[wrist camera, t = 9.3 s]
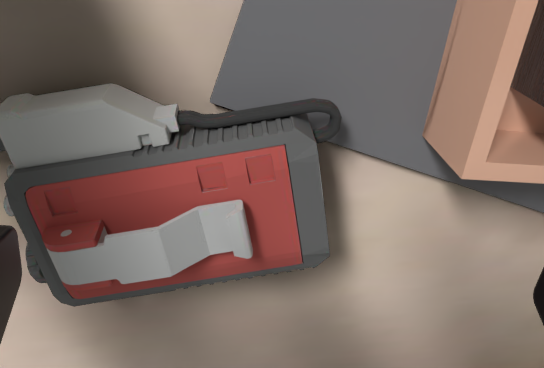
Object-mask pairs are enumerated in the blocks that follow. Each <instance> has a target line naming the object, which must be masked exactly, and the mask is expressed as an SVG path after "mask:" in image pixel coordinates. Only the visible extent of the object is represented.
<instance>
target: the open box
mask: <svg viewBox="0 0 544 368" xmlns="http://www.w3.org/2000/svg"><path fill="white" fill-rule="evenodd" d="M537 3H538V0H457V2H456V6H455V10H454V14H453V18H452V22H451V26H450V30H449V34H448V37H447V41H446V45H445V49H444V53H443V57H442V61H441V65H440V68H439V72H438V76H437V80H436V84H435V88H434V92H433V96H432V100H431V103H430V107H429V111H428V115H427V119H426V123H425V127H424V131H423V134H422V136H423V137H424V138H425V139H426V140H427V141H428V143H429V144H430V145H431V146H432V147H433V148H434V149H435V150H436V151H437V153H438V154H439V155H440V156H441V157H442V158H443V159H444V160H445V161H446V163H447V164H448V165H449V166H450V167H451V168H452V169H453V170H454V171H455V173H456V174H457V175H458V176H459V177H460V178H461V179H470V180H488V181H506V182H524V183H542V184H544V107H543V106H541V105H540V104H538V103H536V102H535V101H533V100H531V99H530V98H528V97H527V96H525V95H523V94H522V93H520V92H518V91H517V90H515V89H513V88H512V87H510V86H511V83H512V80H513V77H514V74H515V71H516V67H517V64H518V61H519V58H520V55H521V52H522V49H523V46H524V43H525V40H526V37H527V34H528V31H529V28H530V24H531V21H532V18H533V15H534V12H535V9H536V6H537Z"/></svg>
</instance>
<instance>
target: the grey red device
mask: <svg viewBox="0 0 544 368" xmlns="http://www.w3.org/2000/svg"><path fill="white" fill-rule="evenodd" d="M312 112H322V113H326V114H329V115H330V119H329V123H328V124H327V125H326V126H324V127H322V128H319V129H315V130H312V128H311V125H310V122H309V119H308V115H307V114H306V113H312ZM341 119H342V116H341V114H340V111H339V109H338V107H337V106H336V105H335V104H334V103H333V102H331V101H330V100H326V99H317V98H311V99H305V100H299V101H293V102H286V103H280V104H274V105H268V106H262V107H256V108H250V109H244V110H238V111H232V112H226V113H220V114H200V113H197V112H194V111H179V108H178V104H172V105H166V106H164V105H161V104H159V103H157V102H155V101H153V100H150V99H148V98H146V97H144V96H142V95H139V94H137V93H135V92H133V91H130V90H128V89H126V88H124V87H122V86H119V85H117V84H112V83H110V84H104V85H98V86H91V87H85V88H79V89H73V90H67V91H61V92H55V93H49V94H43V95H37V96H34V95H32V94H29V93H25V94H20V95H14V96H9V97H7V98H6V99H5V100H4V101H3V102H2V103H1V104H0V151H7V153H8V155H9V158H10V160H11V162H12V164H10V165H9V166H8V168H7V176H8V179H7V181H6V182H5V183H4V184H5V189H6V193H7V196H6V197H5V199H4V208H5V211H6V213H7V214H8V215H9V216H15V218H16V220H17V222H18V224H19V226H20V228H21V230H22V232H23V234H24V236H25V238H26V240H27V242H28V243H27V247H26V261H27V267H28V270H29V272H30V275H31V276H32V277H33V278H34V279H35V280H36V281H37V282H39V283H48V286H49V288H50V290H51V292H52V294H53V296H54V297H55V298H57V299H58V300H59V301H60V302H61V303H64V304H67V305H71V306H80V305H86V304H92V303H98V302H104V301H111V300H117V299H123V298H129V297H136V296H142V295H148V294H154V293H161V292H167V291H173V290H176V289H178V288H184V289H185V288H188V287H191V286H197V287H198V286H201V285H203V284H214V283H216V282H221V281H222V282H227V281H228V280H234V279H235V280H240V279H241V278H247V277H248V278H252V277H253V276H259V275H261V276H265V275H266V274H272V273H274V274H278V273H279V272H284V271H287V272H291V271H292V270H297V269H300V270H304V268H309V267H312V268H315V267H316V266H317V265H319V264H320V263H321V262H323V261H324V260H325V259H327V258H328V257H329V256H330V251H329V243H328V234H327V226H326V217H325V208H324V200H323V191H322V183H321V174H320V166H319V157H318V150H317V144H316V143H321V142H325V141H327V140H329V139H331V138H333V137H334V136H335V135H336V134H337V133H338V132H339V130H340V124H341Z"/></svg>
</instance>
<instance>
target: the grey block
mask: <svg viewBox="0 0 544 368" xmlns="http://www.w3.org/2000/svg"><path fill="white" fill-rule="evenodd" d="M510 87H512V88H513V89H515V90H517V91H518V92H520V93H522V94H523V95H525V96H527V97H528V98H530V99H531V100H533V101H535V102H536V103H538V104H540V105H541V106H543V107H544V0H538V3H537V6H536V9H535V12H534V15H533V18H532V21H531V24H530V28H529V31H528V34H527V37H526V40H525V43H524V46H523V49H522V52H521V55H520V58H519V61H518V64H517V67H516V71H515V74H514V77H513V80H512V83H511V86H510Z"/></svg>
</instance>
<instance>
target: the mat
mask: <svg viewBox="0 0 544 368" xmlns="http://www.w3.org/2000/svg"><path fill="white" fill-rule="evenodd" d="M456 2H457V0H244V2H243V4H242V7H241V10H240V13H239V16H238V19H237V22H236V25H235V28H234V31H233V34H232V37H231V39H230V42H229V45H228V48H227V51H226V54H225V57H224V60H223V63H222V66H221V69H220V72H219V74H218V77H217V80H216V83H215V86H214V89H213V92H212V95H211V98H210V103H213V104H216V105H219V106H222V107H225V108H228V109H231V110H235V111H238V110H244V109H250V108H256V107H262V106H268V105H274V104H280V103H286V102H293V101H299V100H305V99H311V98H317V99H326V100H330V101H331V102H333V103H334V104H335V105H336V106H337V107H338V109H339V111H340V114H341V116H342V119H341V124H340V130H339V132H338V133H337V134H336V135H335V136H334V137H333V138H331V139H329V140H327V141H328V142H331V143H334V144H337V145H340V146H343V147H346V148H349V149H352V150H356V151H359V152H362V153H365V154H368V155H371V156H374V157H377V158H380V159H383V160H386V161H389V162H392V163H395V164H398V165H401V166H404V167H407V168H410V169H413V170H416V171H419V172H422V173H425V174H428V175H431V176H434V177H437V178H440V179H443V180H446V181H449V182H452V183H455V184H458V185H461V186H464V187H467V188H470V189H473V190H477V191H480V192H483V193H486V194H489V195H492V196H495V197H498V198H501V199H504V200H507V201H510V202H513V203H516V204H519V205H522V206H525V207H528V208H531V209H534V210H537V211H540V212H543V213H544V184H542V183H524V182H506V181H488V180H470V179H461V178H460V177H459V176H458V175H457V174H456V173H455V171H454V170H453V169H452V168H451V167H450V166H449V165H448V164H447V163H446V161H445V160H444V159H443V158H442V157H441V156H440V155H439V154H438V153H437V151H436V150H435V149H434V148H433V147H432V146H431V145H430V144H429V143H428V141H427V140H426V139H425V138H424V137H423V136H422V134H423V131H424V127H425V123H426V119H427V115H428V111H429V107H430V103H431V100H432V96H433V92H434V88H435V84H436V80H437V76H438V72H439V68H440V65H441V61H442V57H443V53H444V49H445V45H446V41H447V37H448V34H449V30H450V26H451V22H452V18H453V14H454V10H455V6H456ZM306 114H307V115H308V119H309V122H310V125H311V128H312V130H315V129H319V128H322V127H324V126H326V125H327V124H328V123H329V119H330V115H329V114H326V113H322V112H312V113H306Z"/></svg>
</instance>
